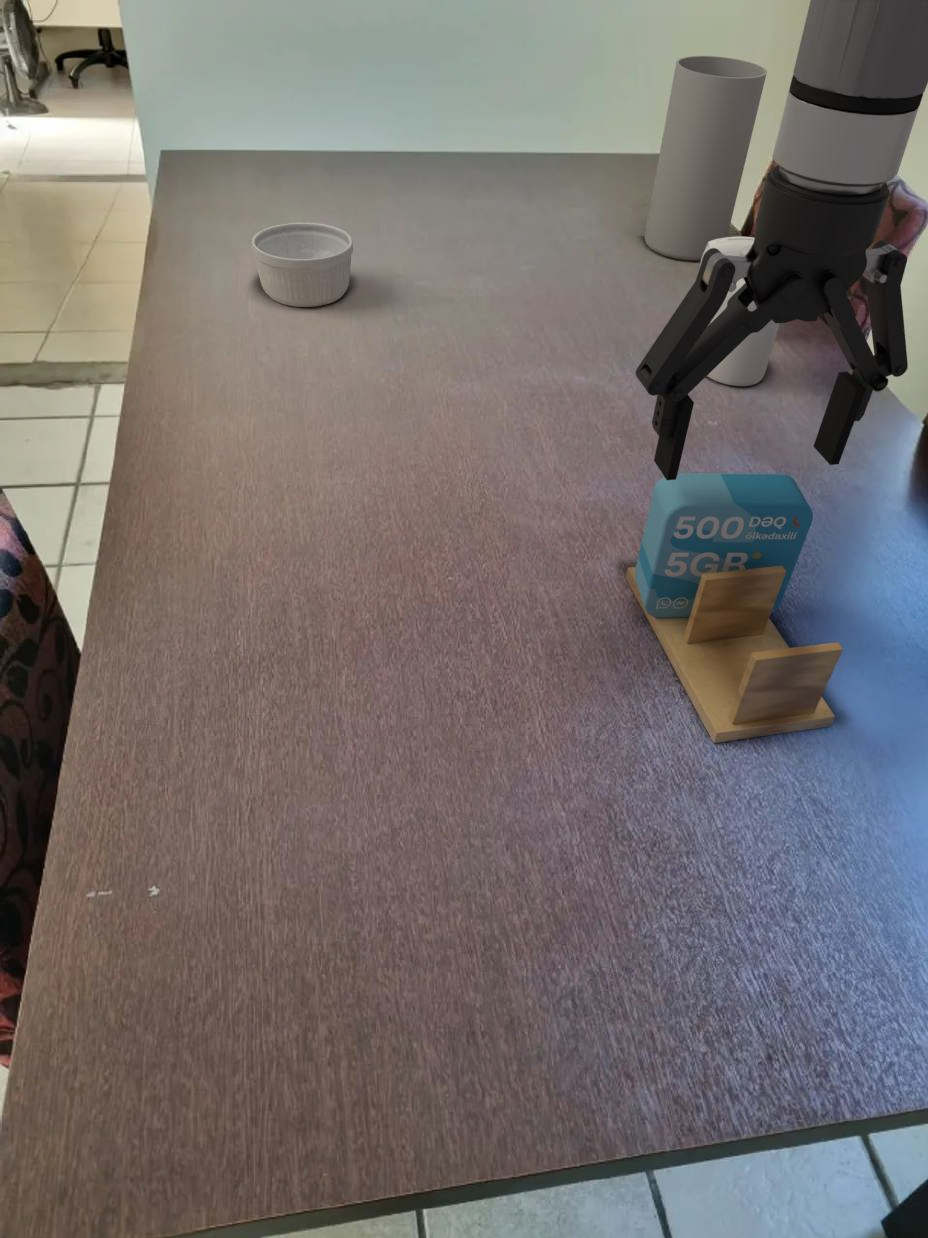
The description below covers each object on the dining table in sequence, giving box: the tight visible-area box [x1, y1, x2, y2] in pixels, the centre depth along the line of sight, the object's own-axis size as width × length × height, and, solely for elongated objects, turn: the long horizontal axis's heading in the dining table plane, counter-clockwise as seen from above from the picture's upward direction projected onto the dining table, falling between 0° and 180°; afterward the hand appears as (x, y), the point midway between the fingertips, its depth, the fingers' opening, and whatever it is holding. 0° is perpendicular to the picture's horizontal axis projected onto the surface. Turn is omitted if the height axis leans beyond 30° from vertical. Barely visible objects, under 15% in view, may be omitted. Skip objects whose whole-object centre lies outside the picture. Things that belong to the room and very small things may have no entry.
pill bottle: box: [706, 245, 781, 387], centre depth 112 cm, size 8×8×15 cm
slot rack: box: [625, 566, 844, 744], centre depth 77 cm, size 10×20×8 cm, turn 12°
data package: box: [635, 472, 814, 618], centre depth 78 cm, size 12×4×12 cm, turn 94°
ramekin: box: [251, 222, 354, 308], centre depth 126 cm, size 13×13×7 cm
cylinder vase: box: [644, 55, 768, 262], centre depth 139 cm, size 12×12×25 cm
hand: (746, 462), depth 73 cm, fingers open, 13 cm apart
